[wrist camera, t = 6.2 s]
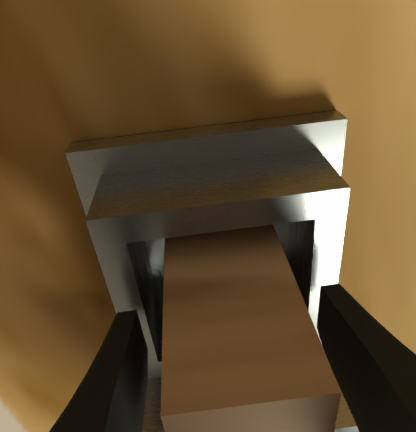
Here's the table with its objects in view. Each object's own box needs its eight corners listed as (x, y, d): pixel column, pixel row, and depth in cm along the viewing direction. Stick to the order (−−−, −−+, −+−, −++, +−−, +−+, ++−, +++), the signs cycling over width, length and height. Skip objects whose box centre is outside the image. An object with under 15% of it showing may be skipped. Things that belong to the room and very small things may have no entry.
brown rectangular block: (265, 279, 17) (326, 475, 10) (178, 289, 17) (183, 494, 10) (264, 204, 15) (341, 392, 8) (165, 217, 15) (160, 416, 8)
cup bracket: (316, 324, 21) (363, 437, 16) (136, 348, 21) (124, 469, 16) (336, 110, 14) (428, 186, 9) (71, 142, 14) (15, 237, 9)
